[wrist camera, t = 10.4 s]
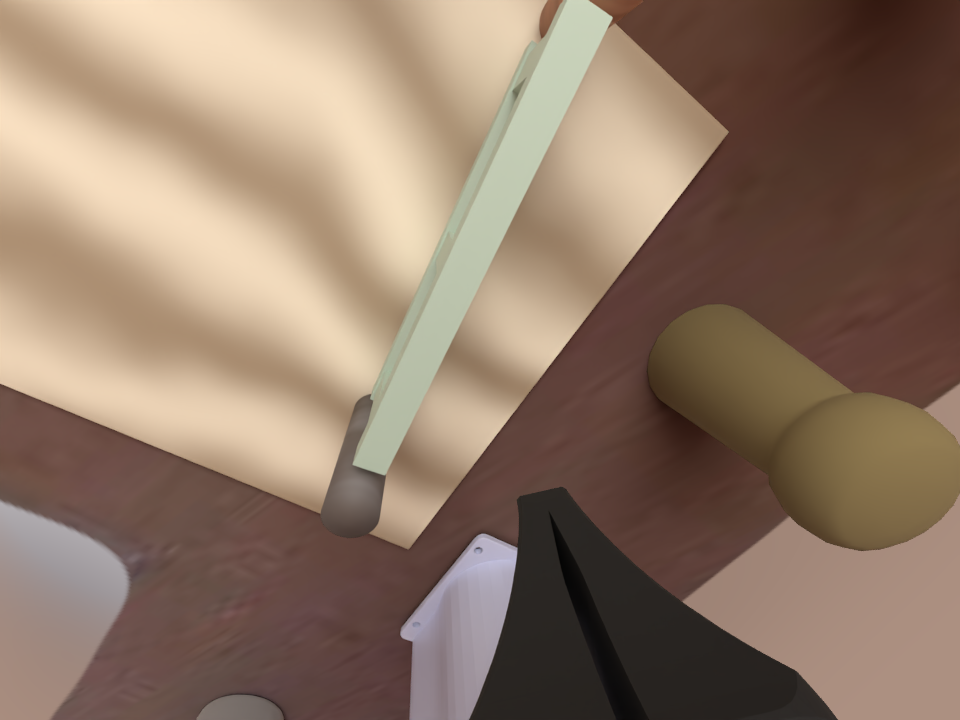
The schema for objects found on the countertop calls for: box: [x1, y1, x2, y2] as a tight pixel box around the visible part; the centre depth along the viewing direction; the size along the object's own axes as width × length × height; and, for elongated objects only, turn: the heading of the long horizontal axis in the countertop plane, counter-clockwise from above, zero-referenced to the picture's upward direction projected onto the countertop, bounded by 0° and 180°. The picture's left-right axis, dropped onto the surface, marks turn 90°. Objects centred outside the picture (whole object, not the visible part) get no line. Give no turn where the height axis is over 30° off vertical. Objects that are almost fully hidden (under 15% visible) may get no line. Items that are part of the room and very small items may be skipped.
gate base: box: [0, 0, 729, 549], centre depth 16 cm, size 26×24×8 cm
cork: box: [647, 304, 960, 551], centre depth 18 cm, size 6×6×11 cm
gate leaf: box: [352, 0, 613, 475], centre depth 16 cm, size 15×1×6 cm, turn 154°
